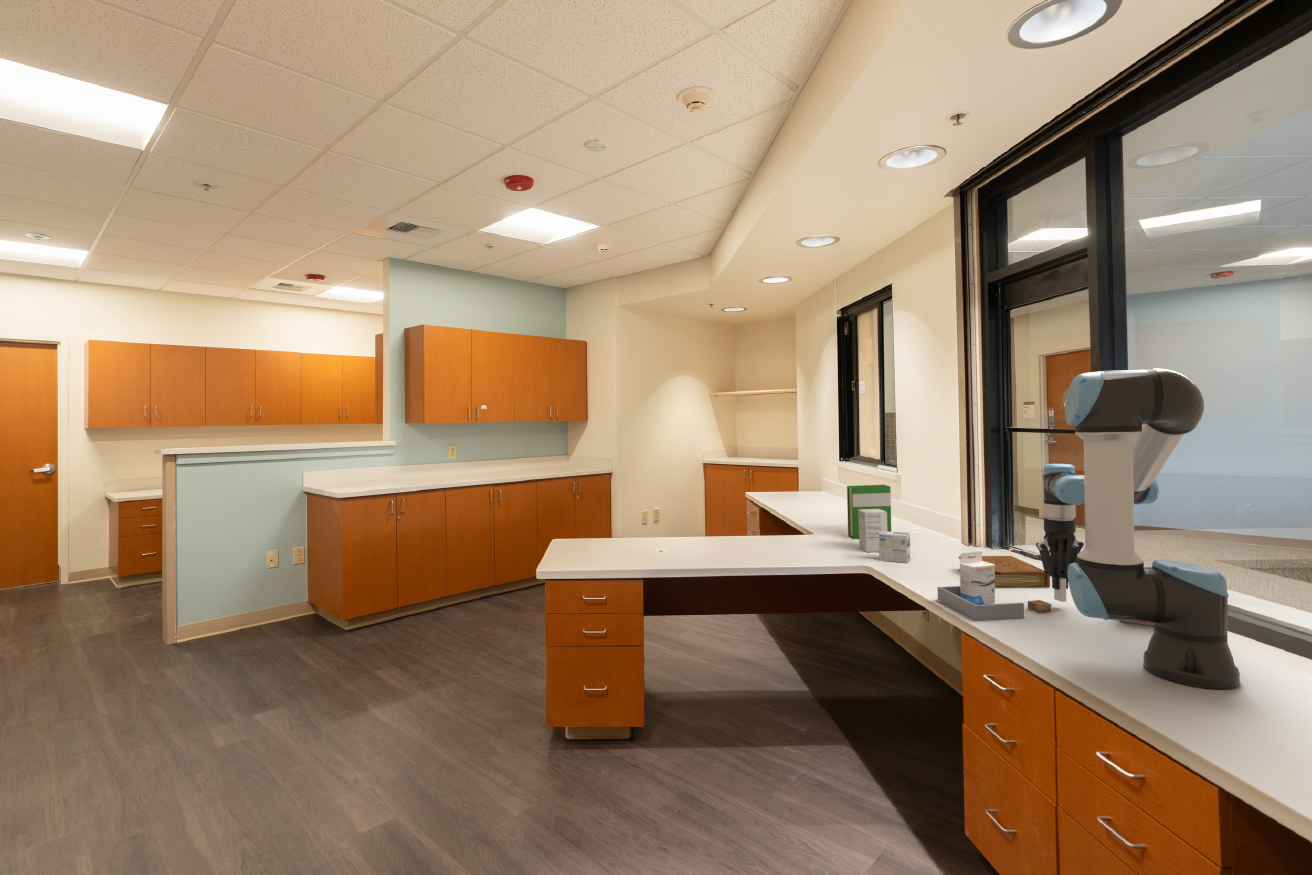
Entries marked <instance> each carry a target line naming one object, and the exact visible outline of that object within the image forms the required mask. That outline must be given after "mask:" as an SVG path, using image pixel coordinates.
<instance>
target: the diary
mask: <svg viewBox="0 0 1312 875" xmlns="http://www.w3.org/2000/svg"><path fill="white" fill-rule="evenodd" d="M960 556H961V555H959V556H958V560H960ZM968 558H975V556H972V555H971V556H968ZM982 561H984V562H988V563H991V564H995V589H1016V588H1017V589H1040V588H1041V589H1049V588H1050V587H1051V576H1048V575H1046V574H1045V572H1044V569H1042V568H1040V567H1037V566H1035V565H1033V564H1031V563H1029V562H1026V561H1024V560H1022V559H1019V558H1017V557H1015V556H1012V555H982ZM959 571H960V568H959Z"/></svg>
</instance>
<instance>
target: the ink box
mask: <svg viewBox="0 0 1312 875" xmlns="http://www.w3.org/2000/svg"><path fill="white" fill-rule="evenodd" d="M959 556H960V559H959V560H960V563H959V569H960V570H959V581H960V583H959V586H960V597H962V598H964V599H966V600H968V601H970V602H972V603H974V604H976V605H987V604H996V588H995V564H991V563H988V562H984V561H982V556H983V551H982V550H980V551H969V552H961V553H960V555H959ZM968 556H975V558H968Z"/></svg>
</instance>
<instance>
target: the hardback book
mask: <svg viewBox="0 0 1312 875" xmlns="http://www.w3.org/2000/svg"><path fill="white" fill-rule="evenodd" d="M846 493H847V494H846V496H847V498H846V500H847V503H846V505H847V508H846V509H847V536H848V537H849V538H850V537H851V538H852V540H859V514H858V510H860V509H880V510H883V511H886V512H887V532H892V505H891V504H892V503H891V502H892V499H891V498H892V497H891V496H892V495H891V486H890V485H886V484H869V485H868V484H867V485H866V484H864V485H847V486H846Z"/></svg>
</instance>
